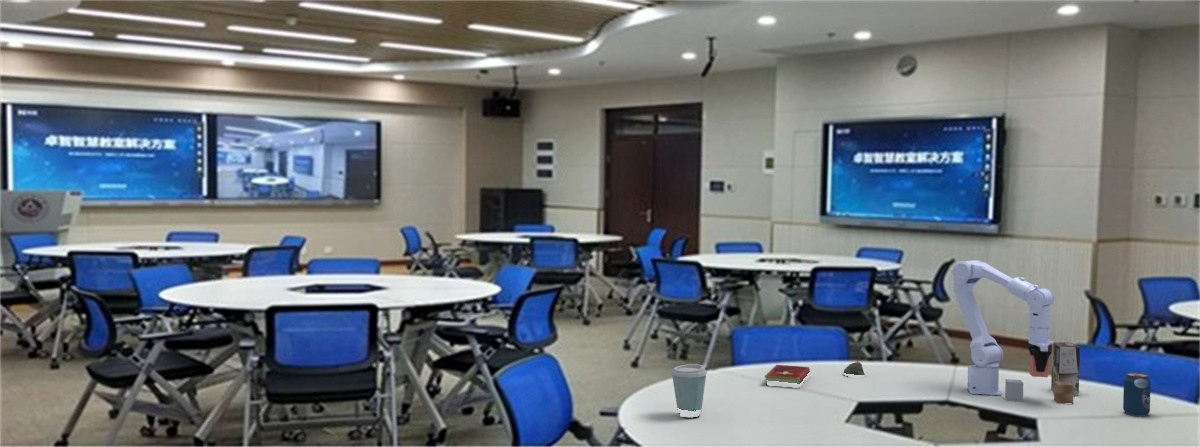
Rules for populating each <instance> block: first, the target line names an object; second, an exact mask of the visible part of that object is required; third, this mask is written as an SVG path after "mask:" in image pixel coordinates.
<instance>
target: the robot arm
mask: <svg viewBox="0 0 1200 447" xmlns="http://www.w3.org/2000/svg"><path fill="white" fill-rule="evenodd" d="M951 273H952V277H953V287H952V288H953V292H954V294H955V297H956V300H957V303H958V305H959V308H960V311H961V314H962V315H963V318H964V322H965V324H966V326H967V329H968V332H969V335H970V337H971V342H970V343H969V348H970V351H971V352H970V359H971V361H972V362H973V363H974V364H971V365H968V367H967V384H966V386H967V387H966V388H967V390H968V392H969V394H972V395H990V396H1002V393H1001V391H1000V390H999V389H1000V388H999V382H1000V381H999V378H1000V377H999V376H1000V374H999V373H1000V362H1001V361H1002V360H1003V359H1004V351H1003V349H1002V347H1001V346H999V344H998V343H997V340H996V339H995V338H994V337H993V336H991V335H990V333H989V331H988V328H987V326H986V323H985V321H984V318H983V316H982V313H981V310H980V308H979V305H978V303H977V300H976V296H975V295H974V292H973V289H974V287H975V286H976V284H977V282H979V281H980V280H981V279H982V278H985V279H988V280H990V281H993V282H994V283H996V284H999V285H1000V286H1002V287H1005V288H1006V289H1007V291H1008V293H1009V294H1010V295H1013V296H1015V297H1017V298H1019V299H1020V300H1022V301H1025V302H1026V303H1027V305H1028V306H1029V332H1028V333H1029V339H1028V343H1029V344H1030V345H1026V347H1027V348H1026V349H1028V352H1029V356H1030V355H1034V358H1035V365H1036V370H1037V372H1044V371H1045V368H1046V364H1047V361H1048V362H1049V358H1050V356H1052V349H1051V350H1050V349H1049V346H1050V345H1052V344H1054V342H1055V341H1053V340H1050V336H1051V335H1050V332H1051V305H1052V304H1053V302H1054V300H1055V296H1054V293H1053V292H1052V291H1051V290H1049V289H1048V288H1046V287H1042V288H1041V287H1039V285H1038V284H1034V283H1031V282H1029V281H1027V280H1026V278H1025V277H1022V276H1021V277H1018V276H1017V277H1013V278H1012V277H1011V276H1009V275H1007V274H1005V273H1003V271H1000V270H998V269H996V268H995V267H993V266H992V265H990V264H989V263H987V262H983V261H981V260H979V259H973V260H966V261H963V260H962V261H961V260H960V261H957V263H955V265H954V267H953V269H952V270H951Z"/></svg>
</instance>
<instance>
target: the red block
mask: <svg viewBox="0 0 1200 447" xmlns="http://www.w3.org/2000/svg"><path fill="white" fill-rule="evenodd" d="M1028 374H1029V375H1030V376H1031V377H1033V378H1034V377H1035V378H1048V377H1049V360H1048V361H1047V364H1046V368H1045V371H1044V372H1037V370H1036V365H1035V358H1034V355H1030V354H1029V373H1028Z"/></svg>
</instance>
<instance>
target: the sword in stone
mask: <svg viewBox="0 0 1200 447" xmlns="http://www.w3.org/2000/svg"><path fill="white" fill-rule="evenodd" d="M861 349H862V345H859V351H858V353H857V356H856V357H857V362H852V363H850V364H849V365H848V366H846V367H845V368H844V370H843V373H846V374H854V375H865V372H864V368H863V365H862V362H859V359H860V356H861ZM865 376H866V375H865Z"/></svg>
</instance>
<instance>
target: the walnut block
mask: <svg viewBox="0 0 1200 447" xmlns="http://www.w3.org/2000/svg"><path fill="white" fill-rule="evenodd" d="M1073 389H1074V385H1073V384H1071V383H1070V382H1054V391H1053V394H1054V395H1053V401H1055V402H1056V404H1061V403H1072V404H1071V405H1073V404H1074V396H1073Z"/></svg>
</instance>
